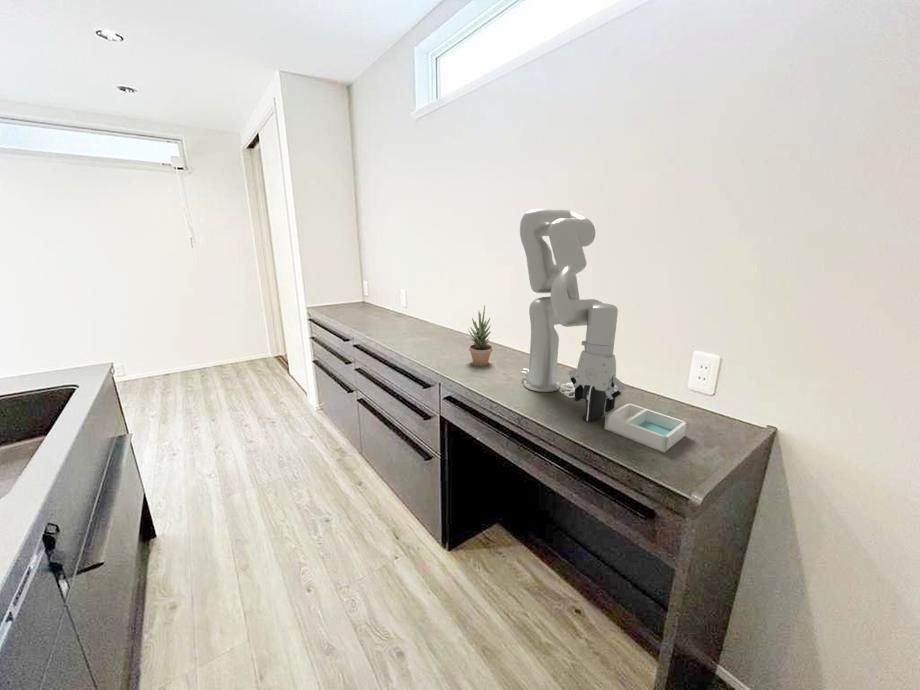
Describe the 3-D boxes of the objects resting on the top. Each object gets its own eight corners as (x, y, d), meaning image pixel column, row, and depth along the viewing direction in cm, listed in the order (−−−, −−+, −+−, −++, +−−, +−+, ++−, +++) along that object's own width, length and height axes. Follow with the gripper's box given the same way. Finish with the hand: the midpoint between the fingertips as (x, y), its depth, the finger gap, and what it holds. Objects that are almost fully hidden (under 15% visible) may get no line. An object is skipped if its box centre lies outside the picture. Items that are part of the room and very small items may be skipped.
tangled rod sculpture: (573, 407, 123) (574, 396, 122) (550, 387, 136) (551, 377, 134) (624, 399, 128) (626, 388, 127) (598, 380, 141) (600, 370, 140)
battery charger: (593, 412, 116) (597, 376, 113) (604, 417, 113) (608, 380, 110) (578, 418, 113) (581, 381, 109) (589, 423, 110) (593, 385, 106)
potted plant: (480, 368, 154) (482, 307, 147) (464, 363, 161) (465, 304, 154) (497, 363, 161) (499, 304, 154) (481, 358, 167) (482, 301, 161)
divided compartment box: (604, 428, 106) (605, 415, 105) (626, 415, 115) (628, 402, 114) (664, 452, 95) (666, 438, 94) (684, 435, 103) (687, 422, 102)
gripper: (564, 344, 111) (560, 399, 116) (622, 358, 98) (615, 419, 103) (579, 340, 116) (574, 393, 120) (636, 352, 103) (628, 411, 108)
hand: (593, 405), depth 112 cm, fingers open, 9 cm apart
